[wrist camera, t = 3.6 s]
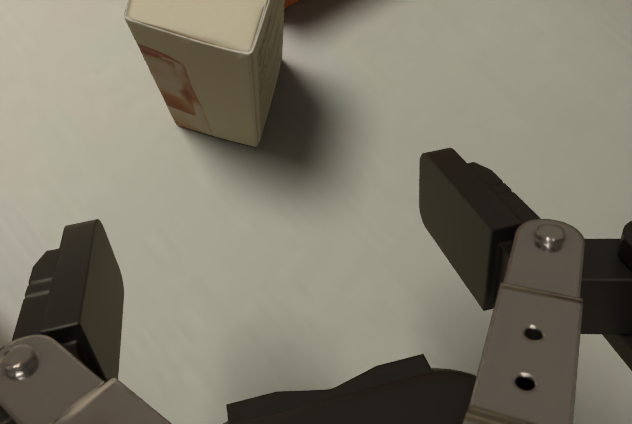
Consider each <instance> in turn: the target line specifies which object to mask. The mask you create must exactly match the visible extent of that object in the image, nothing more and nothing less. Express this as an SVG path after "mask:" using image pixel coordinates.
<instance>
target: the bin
mask: <svg viewBox="0 0 632 424" xmlns="http://www.w3.org/2000/svg"><path fill="white" fill-rule="evenodd" d="M297 1H299V0H285V4H284V8H286V7H288V6H290V5H292V4H294V3H295V2H297Z"/></svg>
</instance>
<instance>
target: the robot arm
mask: <svg viewBox="0 0 632 424" xmlns="http://www.w3.org/2000/svg"><path fill="white" fill-rule="evenodd" d="M419 208H420V214H421V218H422V221H423V223H424V225H425V227H426V229H427V230H428V232H429V233H430V234H431V236H432V237H433V239H434V240H435V242H436V243H437V245H438V246H439V247H440V249H441V250H442V252H443V253H444V255H445V256H446V257H447V259H448V260H449V262H450V263H451V265H452V266H453V268H454V269H455V270H456V272H457V273H458V275H459V276H460V278H461V279H462V280H463V282H464V283H465V285H466V286H467V288H468V289H469V290H470V292H471V293H472V295H473V296H474V298H475V299H476V301H477V302H478V303H479V305H480V306H481V308H482V309H483V311H485V310H489V309H493V308H494V310H493V314H492V318H491V322H490V326H489V330H488V334H487V337H486V341H485V345H484V349H483V353H482V357H481V361H480V365H479V369H478V373H477V376H475V375H473V374H469V373H465V372H462V371H457V370H451V369H440V368H431V367H430V366H429V364H428V362H427V360H426V358H425V356H424V354H421V355H417V356H413V357H409V358H406V359H402V360H398V361H394V362H390V363H386V364H382V365H378V366H376V367H374V368H372V369H370V370H368V371H366V372H364V373H362V374H360V375H358V376H356V377H354V378H352V379H351V380H349V381H347V382H345V383H343V384H341V385H339V386H337V387H335V388H333V389H329V390H309V391H282V392H274V393H270V394H266V395H262V396H258V397H254V398H250V399H246V400H243V401H239V402H235V403H231V404H227V413H228V421H227V422H225V423H223V424H573V415H574V403H575V391H576V379H577V367H578V355H579V343H580V334H602V335H603V336H604V337H605V338H606V340H607V341H608V342H609V343H610V345H611V346H612V347H613V348H614V350H615V351H616V352H617V353H618V354H619V356H620V357H621V358H622V359H623V361H624V362H625V363H626V364H627V366H628V367H629V368H630V369H631V371H632V221H630V222H629V223H627V224H626V225H625V226H624V229H623V232H622V236H621V239H584V237H583V236H582V234H581V233H580V232H579V231H578V230H577V229H576V228H574V227H573V226H571V225H569V224H566V223H564V222H561V221H557V220H551V219H541V218H539V217H538V216H537V215H536V214H535V213H534V212H533V211H532V210H531V209H530V208H529V207H528V206H527V205H526V204H525V203H524V202H523V201H522V200H521V199H520V198H519V197H518V196H517V195H516V194H515V193H514V192H512V191H511V189H510V188H509V187H508V186H507V185H506V184H505V183H503V182H502V180H501V179H500V178H499V177H498V176H497V175H496V174H495V173H494V172H493V171H492V170H490V169H488V168H486V167H483V166H481V165H479V164H477V163H475V162H472V163H466V162H465V161H464V160H463V159H462V158H461V157H460V156H459V155H458V153H457V152H456V151H455V150H454V149H452V148H446V149H441V150H436V151H432V152H427V153H423V154H422V155H421V157H420V179H419ZM123 301H124V286H123V280H122V276H121V272H120V269H119V266H118V263H117V261H116V258H115V256H114V253H113V251H112V248H111V245H110V243H109V240H108V238H107V235H106V232H105V230H104V227H103V225H102V223H101V221H100V220H98V219H96V220H92V221H87V222H82V223H77V224H72V225H67V226H65V228H64V231H63V236H62V240H61V244H60V248H59V249H55V250H50V251H46V252H45V254H44V255H43V256H42V257H41V258H40V259H39V261H38V262H37V263H36V264H35V265H34V267H33V269H32V273H31V276H30V280H29V286H28V287H27V290H26V293H25V299H24V300H23V304H22V307H21V311H20V314H19V318H18V321H17V325H16V328H15V332H14V335H13V339H12V342H10V343H8V344H6V345H5V346H3V347H2V348H0V424H171V423H170V422H169V421H168V420H167V419H165V418H164V417H163V416H162V415H160V414H159V413H158V412H157V411H156V410H154V409H153V408H152V407H151V406H149V405H148V404H147V403H146V402H145V401H143V400H142V399H141V398H140V397H138V396H137V395H136V394H135V393H134V392H132V391H131V390H130V389H129V388H127V387H126V386H125V385H124V384H123V383H121V382H120V381H119V380H118V372H119V358H120V344H121V329H122V315H123Z"/></svg>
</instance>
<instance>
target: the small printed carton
mask: <svg viewBox="0 0 632 424" xmlns="http://www.w3.org/2000/svg"><path fill="white" fill-rule="evenodd" d="M284 4H285V0H128V3H127V7H126V10H125V14H124V18H125V20H126V22H127V24H128V26H129V28H130V30H131V32H132V34H133V36H134V39H135V40H136V42H137V44H138V46H139V48H140V50H141V53H142V55H143V57H144V59H145V61H146V63H147V65H148V67H149V69H150V72H151V74H152V76H153V78H154V80H155V82H156V84H157V86H158V88H159V90H160V92H161V94H162V96H163V98H164V100H165V102H166V105H167V107H168V109H169V111H170V113H171V115H172V117H173V119H174V121H175V123H176V124H177V125H179V126H182V127H185V128H188V129H192V130H195V131H198V132H202V133H205V134H209V135H212V136H215V137H219V138H223V139H226V140H230V141H234V142H238V143H242V144H246V145H249V146H253V147H256V146H258V145H259V143H260V140H261V137H262V133H263V130H264V126H265V123H266V120H267V116H268V113H269V109H270V105H271V101H272V98H273V94H274V90H275V86H276V82H277V78H278V74H279V70H280V65H281V61H282V44H283V25H284Z"/></svg>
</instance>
